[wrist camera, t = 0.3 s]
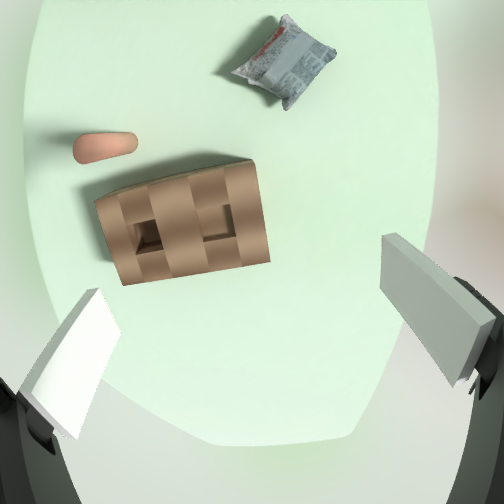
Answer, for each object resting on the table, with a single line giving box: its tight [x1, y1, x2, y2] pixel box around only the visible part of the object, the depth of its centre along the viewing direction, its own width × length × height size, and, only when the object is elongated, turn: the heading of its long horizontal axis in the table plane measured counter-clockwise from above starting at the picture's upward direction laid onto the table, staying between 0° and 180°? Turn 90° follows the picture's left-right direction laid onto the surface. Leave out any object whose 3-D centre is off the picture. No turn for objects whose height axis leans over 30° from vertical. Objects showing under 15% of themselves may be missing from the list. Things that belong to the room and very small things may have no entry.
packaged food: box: [230, 14, 337, 111], centre depth 27 cm, size 9×12×5 cm
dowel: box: [73, 132, 138, 164], centre depth 27 cm, size 3×3×12 cm
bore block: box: [94, 159, 271, 286], centre depth 35 cm, size 12×20×6 cm, turn 100°
